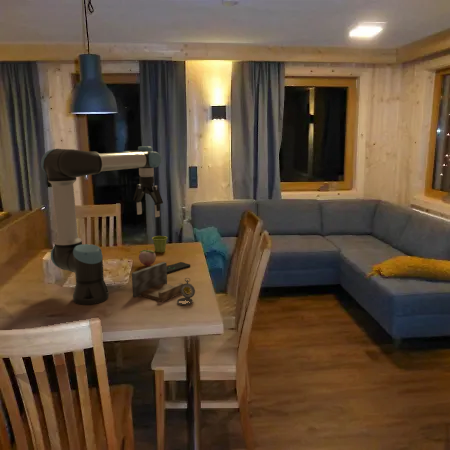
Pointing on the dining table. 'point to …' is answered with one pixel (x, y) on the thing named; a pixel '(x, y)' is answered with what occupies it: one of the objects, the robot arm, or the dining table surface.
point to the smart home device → (177, 267)
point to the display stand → (154, 283)
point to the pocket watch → (187, 295)
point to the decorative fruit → (147, 257)
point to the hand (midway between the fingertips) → (148, 215)
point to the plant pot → (159, 243)
